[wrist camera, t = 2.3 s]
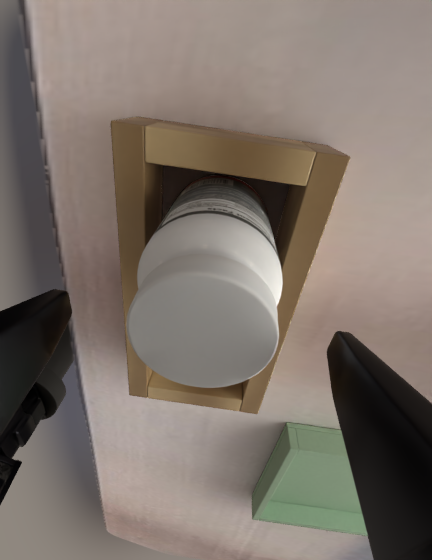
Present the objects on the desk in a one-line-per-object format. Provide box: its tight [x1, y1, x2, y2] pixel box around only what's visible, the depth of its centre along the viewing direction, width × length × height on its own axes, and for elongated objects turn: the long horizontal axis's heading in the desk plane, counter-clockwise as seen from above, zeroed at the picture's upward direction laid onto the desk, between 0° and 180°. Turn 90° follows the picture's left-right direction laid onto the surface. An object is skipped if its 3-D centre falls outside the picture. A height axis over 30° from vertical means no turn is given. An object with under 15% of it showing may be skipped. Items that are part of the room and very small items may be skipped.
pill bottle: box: [126, 175, 283, 388], centre depth 13 cm, size 6×6×10 cm
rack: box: [111, 117, 350, 414], centre depth 18 cm, size 10×18×4 cm, turn 173°
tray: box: [252, 422, 368, 536], centre depth 31 cm, size 28×18×2 cm, turn 83°
